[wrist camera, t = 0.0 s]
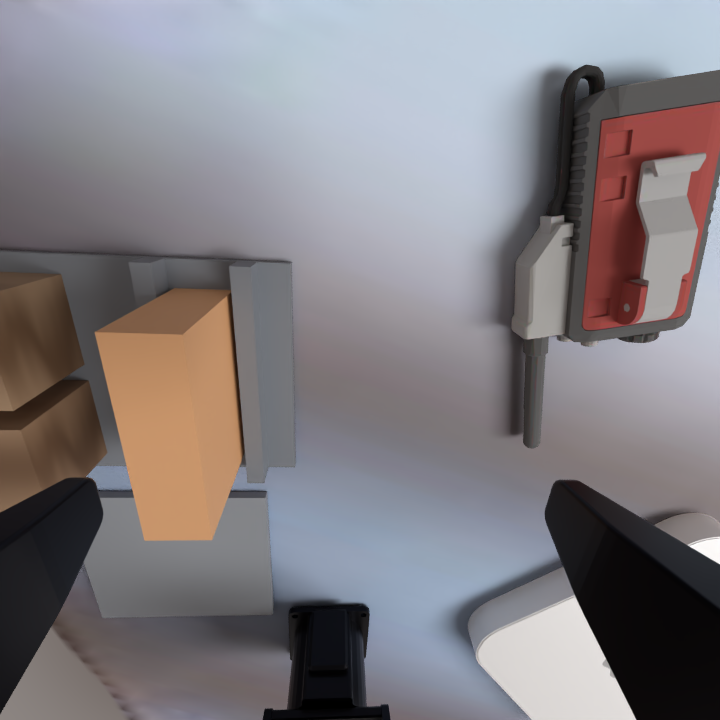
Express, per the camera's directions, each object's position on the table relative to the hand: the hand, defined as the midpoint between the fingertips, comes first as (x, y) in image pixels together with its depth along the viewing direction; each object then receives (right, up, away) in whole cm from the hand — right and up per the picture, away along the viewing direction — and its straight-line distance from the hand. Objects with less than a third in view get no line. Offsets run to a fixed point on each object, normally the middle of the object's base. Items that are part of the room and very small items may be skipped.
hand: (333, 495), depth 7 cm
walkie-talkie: (+13, +7, +14) cm, 21 cm away
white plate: (+24, -22, +27) cm, 42 cm away
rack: (-11, +2, +14) cm, 18 cm away
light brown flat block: (-8, +2, +14) cm, 16 cm away
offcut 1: (-16, +5, +12) cm, 21 cm away
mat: (-13, -12, +20) cm, 27 cm away
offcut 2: (-16, -1, +15) cm, 22 cm away
